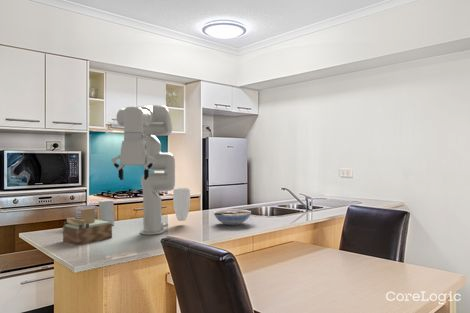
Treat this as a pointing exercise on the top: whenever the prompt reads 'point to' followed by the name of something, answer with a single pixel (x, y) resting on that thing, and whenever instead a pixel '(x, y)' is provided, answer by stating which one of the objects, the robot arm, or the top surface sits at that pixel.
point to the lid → (88, 219)
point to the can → (78, 210)
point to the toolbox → (86, 234)
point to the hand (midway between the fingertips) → (133, 179)
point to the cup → (181, 202)
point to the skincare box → (106, 210)
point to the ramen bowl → (232, 216)
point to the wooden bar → (76, 221)
